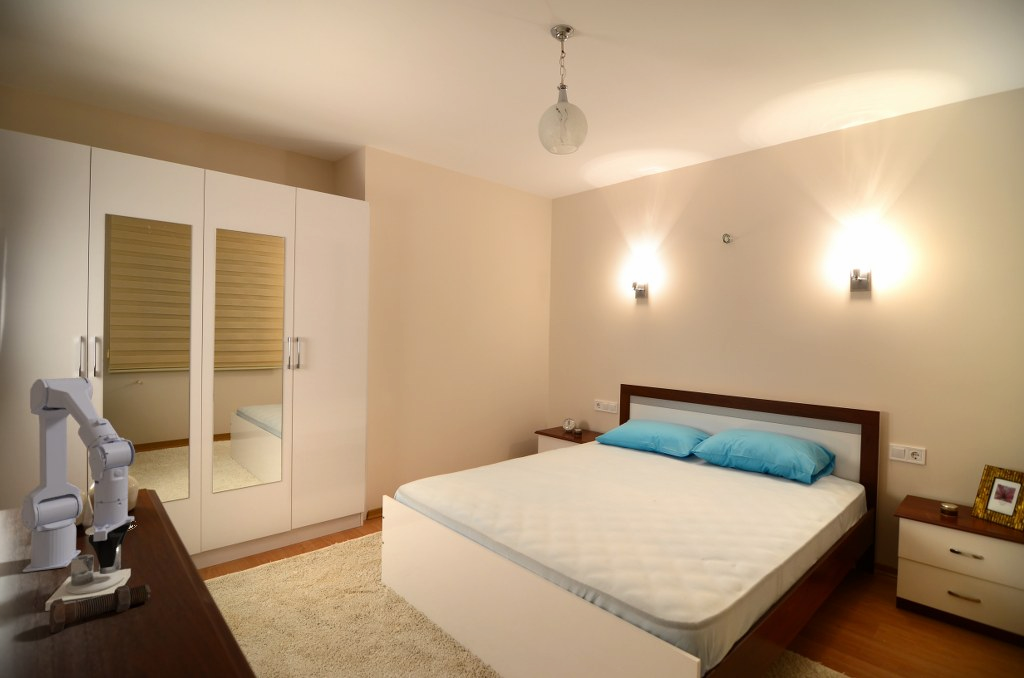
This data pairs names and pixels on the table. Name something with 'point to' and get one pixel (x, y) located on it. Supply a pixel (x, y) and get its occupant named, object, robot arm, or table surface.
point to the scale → (90, 587)
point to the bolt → (95, 605)
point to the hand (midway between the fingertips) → (110, 563)
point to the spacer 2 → (116, 565)
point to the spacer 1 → (82, 570)
